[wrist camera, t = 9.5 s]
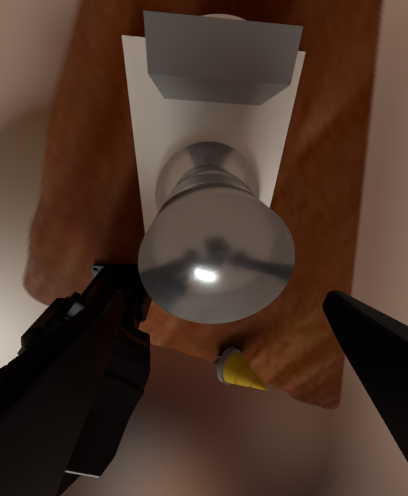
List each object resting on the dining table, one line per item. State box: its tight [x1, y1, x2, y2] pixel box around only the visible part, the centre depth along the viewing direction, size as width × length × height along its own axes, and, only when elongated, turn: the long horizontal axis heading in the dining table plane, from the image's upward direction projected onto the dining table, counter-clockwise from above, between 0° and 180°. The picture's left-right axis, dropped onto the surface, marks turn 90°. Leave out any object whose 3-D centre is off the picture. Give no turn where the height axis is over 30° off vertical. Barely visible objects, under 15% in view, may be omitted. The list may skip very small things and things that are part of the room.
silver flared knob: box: [138, 173, 295, 324], centre depth 9 cm, size 6×6×5 cm
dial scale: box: [122, 11, 306, 234], centre depth 14 cm, size 12×16×7 cm
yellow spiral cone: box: [213, 347, 268, 390], centre depth 28 cm, size 5×5×10 cm
